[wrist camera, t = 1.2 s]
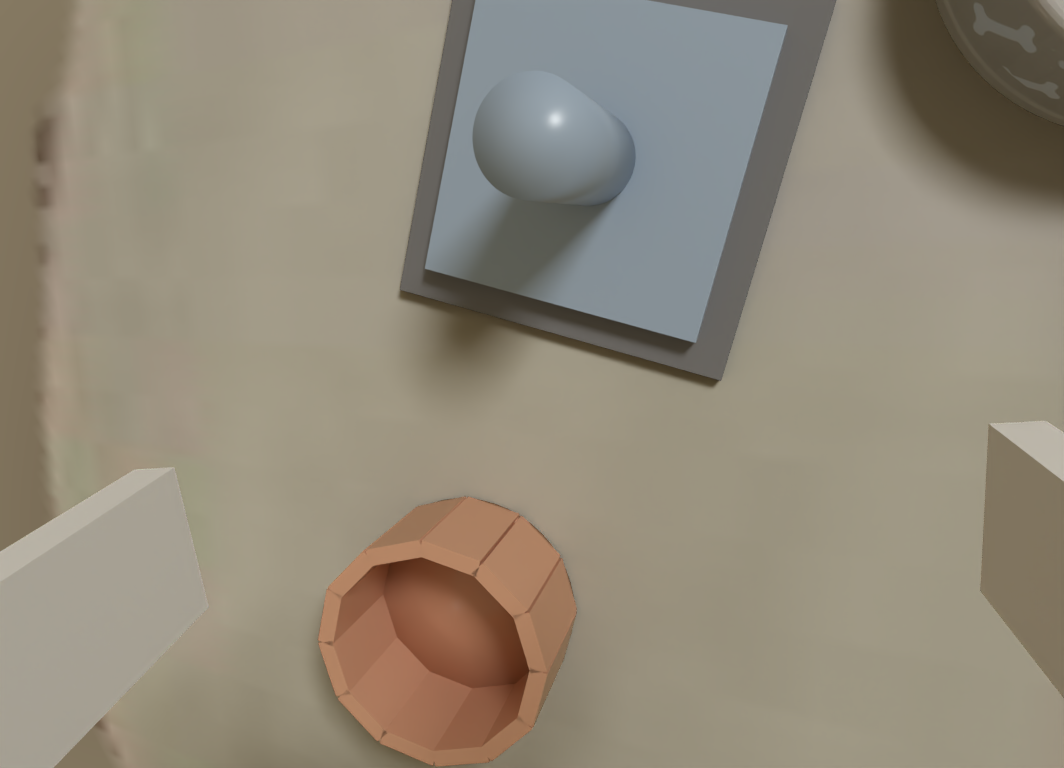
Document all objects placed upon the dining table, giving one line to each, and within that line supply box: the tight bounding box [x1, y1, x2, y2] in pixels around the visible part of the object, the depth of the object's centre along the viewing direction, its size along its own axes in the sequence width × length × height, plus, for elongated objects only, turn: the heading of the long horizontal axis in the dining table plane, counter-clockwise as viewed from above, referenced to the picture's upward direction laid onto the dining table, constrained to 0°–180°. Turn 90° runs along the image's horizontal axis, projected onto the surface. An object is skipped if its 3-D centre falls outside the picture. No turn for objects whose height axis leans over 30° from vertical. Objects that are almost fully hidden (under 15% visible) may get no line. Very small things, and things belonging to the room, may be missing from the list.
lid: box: [425, 0, 788, 343], centre depth 30 cm, size 13×13×10 cm
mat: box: [400, 0, 836, 381], centre depth 35 cm, size 16×16×1 cm
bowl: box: [318, 496, 577, 766], centre depth 38 cm, size 11×11×6 cm
